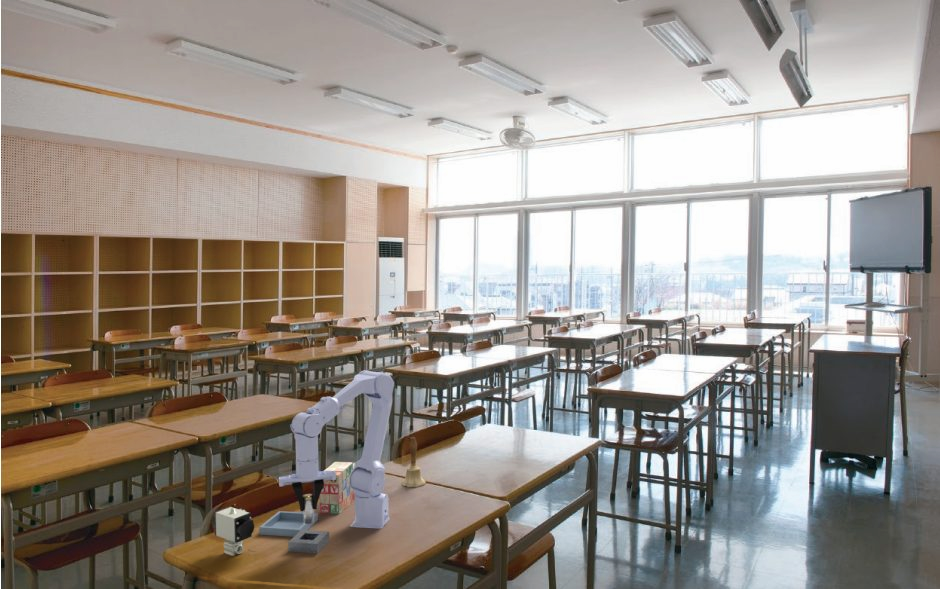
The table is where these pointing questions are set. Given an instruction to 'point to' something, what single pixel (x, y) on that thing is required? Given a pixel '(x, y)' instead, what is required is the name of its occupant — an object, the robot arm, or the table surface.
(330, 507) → the stack of blocks
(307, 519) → the small glass bottle
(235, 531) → the pneumatic valve
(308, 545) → the block
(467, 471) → the table surface
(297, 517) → the tray
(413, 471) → the hand bell
